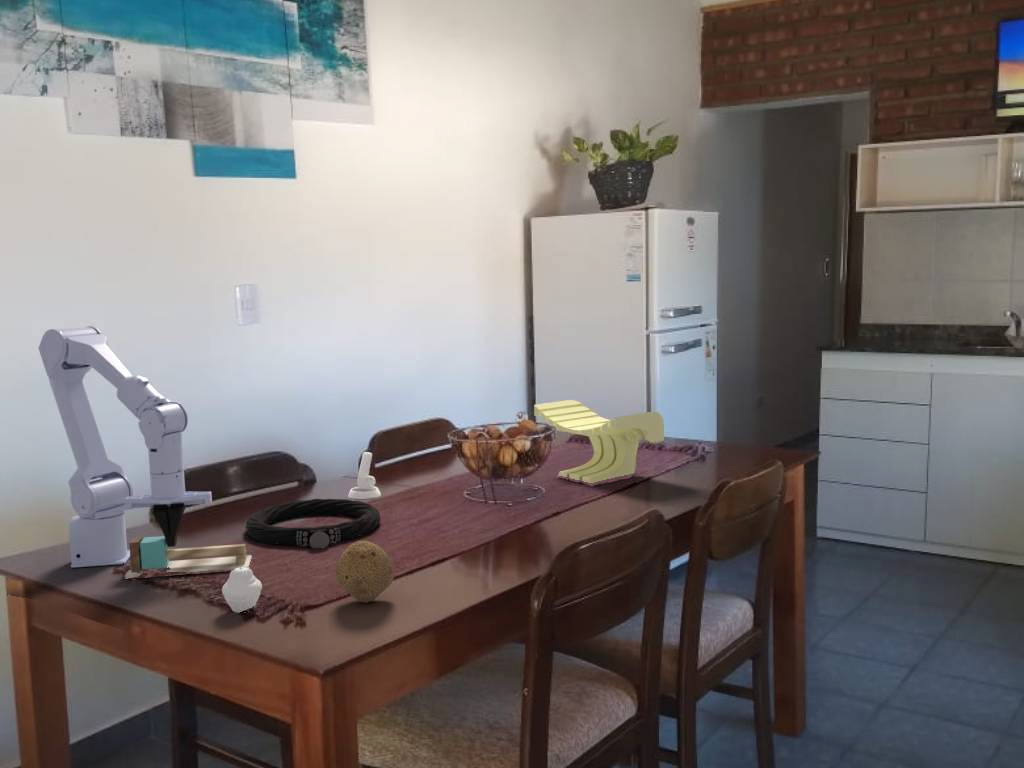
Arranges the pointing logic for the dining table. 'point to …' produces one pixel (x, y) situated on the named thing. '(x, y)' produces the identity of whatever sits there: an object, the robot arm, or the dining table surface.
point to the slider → (154, 552)
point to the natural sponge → (364, 571)
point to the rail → (194, 564)
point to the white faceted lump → (241, 589)
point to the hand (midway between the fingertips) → (172, 545)
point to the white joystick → (365, 481)
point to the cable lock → (312, 535)
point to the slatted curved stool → (603, 437)
